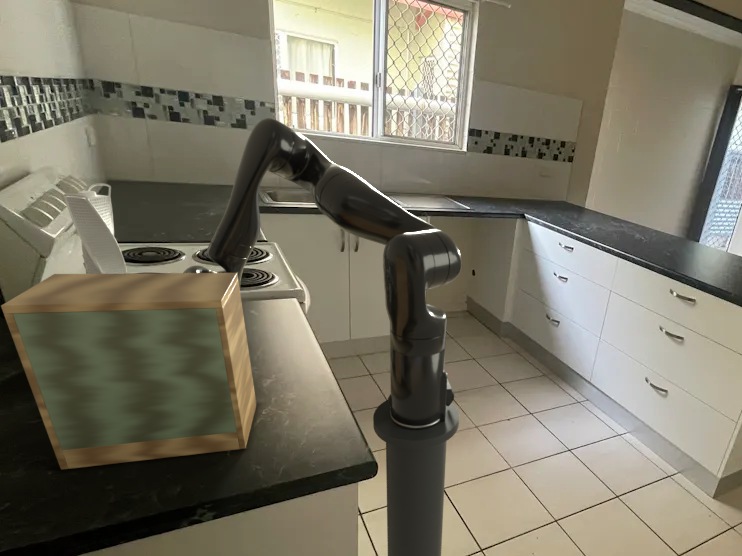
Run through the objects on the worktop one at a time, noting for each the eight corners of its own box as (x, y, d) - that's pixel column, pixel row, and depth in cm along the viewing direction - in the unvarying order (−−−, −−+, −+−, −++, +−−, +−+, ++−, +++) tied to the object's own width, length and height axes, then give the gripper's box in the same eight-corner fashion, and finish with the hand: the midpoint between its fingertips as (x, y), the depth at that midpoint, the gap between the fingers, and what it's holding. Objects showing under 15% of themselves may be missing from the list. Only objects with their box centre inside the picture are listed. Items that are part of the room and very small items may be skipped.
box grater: (139, 303, 113) (109, 180, 101) (142, 314, 107) (111, 186, 96) (93, 308, 108) (56, 180, 96) (93, 320, 102) (55, 186, 91)
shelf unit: (256, 404, 79) (237, 272, 70) (245, 448, 69) (221, 300, 60) (98, 418, 72) (53, 273, 63) (60, 469, 62) (0, 305, 53)
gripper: (134, 299, 78) (90, 343, 64) (233, 297, 83) (212, 337, 68) (144, 340, 81) (104, 391, 67) (239, 336, 86) (220, 382, 71)
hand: (159, 363), depth 68 cm, fingers closed on can, 5 cm apart
